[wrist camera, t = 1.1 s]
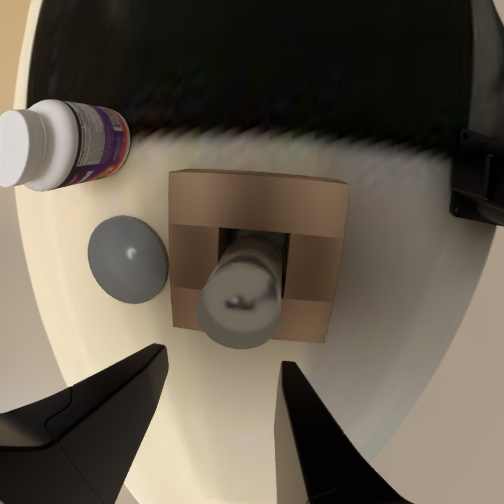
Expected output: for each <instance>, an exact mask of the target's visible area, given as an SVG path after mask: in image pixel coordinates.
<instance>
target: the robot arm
mask: <svg viewBox="0 0 504 504" xmlns="http://www.w3.org/2000/svg"><path fill="white" fill-rule="evenodd" d="M463 133H464V134H465V139H464V137H463ZM452 187H453V192H452V199H451V206H450V212H451V214H452V215H453V216H455V217H459V218H464V219H470V220H475V221H480V222H485V223H490V224H494V225H499V226H504V143H502V142H499V141H497V140H494V139H492V138H489V137H487V136H484V135H481V134H478V133H476V132H473V131H470V130H467V129H460V130H459V131H458V138H457V153H456V155H455V166H454V176H453V185H452ZM457 207H458V211H457V212H455V209H456V208H457ZM168 369H169V364H168V356H167V348H166V346H165V345H161V344H156V343H153V344H151V345H149V346H147V347H145V348H144V349H142V350H140V351H138V352H136V353H134V354H132V355H130V356H129V357H127V358H125V359H123V360H121V361H119V362H117V363H115V364H113V365H111V366H109V367H108V368H106V369H104V370H102V371H100V372H98V373H96V374H94V375H92V376H90V377H88V378H86V379H84V380H82V381H80V382H78V383H76V384H74V385H73V386H70V387H68V388H66V389H64V390H62V391H60V392H58V393H56V394H54V395H51V396H49V397H47V398H44V399H42V400H40V401H37V402H34V403H32V404H29V405H26V406H23V407H20V408H17V409H14V410H11V411H9V412H5V413H1V414H0V504H115V501H116V499H117V497H118V494H119V492H120V490H121V487H122V485H123V483H124V481H125V478H126V476H127V474H128V471H129V469H130V467H131V465H132V462H133V460H134V458H135V456H136V453H137V451H138V449H139V447H140V444H141V442H142V440H143V438H144V435H145V433H146V431H147V429H148V427H149V424H150V422H151V420H152V418H153V415H154V413H155V411H156V408H157V405H158V402H159V399H160V396H161V392H162V389H163V386H164V383H165V380H166V376H167V373H168ZM274 439H275V461H276V484H277V504H414V503H411V502H410V501H408V500H406V499H404V498H403V497H402V496H400V495H399V494H398V493H397V492H396V491H395V490H394V489H393V488H392V487H391V486H390V485H389V484H388V483H387V482H386V481H385V480H384V479H383V478H382V477H381V476H380V475H379V474H378V473H377V472H376V471H375V470H374V469H373V468H372V467H371V466H370V465H369V463H368V462H367V461H366V460H365V459H364V458H363V457H362V456H361V455H360V453H359V452H358V451H357V449H356V448H355V447H354V446H353V444H352V443H351V442H350V440H349V439H348V437H347V436H346V434H344V432H343V430H342V429H341V428H340V426H339V425H338V423H337V422H336V420H335V419H334V418H333V416H332V415H331V413H330V412H329V410H328V409H327V408H326V406H325V405H324V403H323V402H322V400H321V399H320V398H319V396H318V395H317V393H316V392H315V390H314V389H313V387H312V386H311V384H310V383H309V382H308V380H307V379H306V377H305V376H304V374H303V373H302V371H301V370H300V368H299V367H298V365H297V364H296V363H295V362H292V361H282V362H281V367H280V373H279V380H278V388H277V400H276V411H275V422H274Z"/></svg>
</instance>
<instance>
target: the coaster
mask: <svg viewBox="0 0 504 504" xmlns="http://www.w3.org/2000/svg"><path fill="white" fill-rule="evenodd" d="M88 260H89V265H90V268H91V271H92V273H93V275H94V277H95V279H96V281H97V282H98V284H99V285H100V286H101V287H102V289H103V290H104V291H105V292H107V293H108V294H109V295H110V296H112V297H113V298H115V299H117V300H119V301H122V302H125V303H131V304H138V303H143V302H146V301H148V300H150V299H151V298H153V297H154V296H155V295H156V294H157V293H158V292H159V291H160V289H161V288H162V286H163V285H164V283H165V281H166V277H167V272H168V260H167V255H166V251H165V248H164V246H163V244H162V242H161V240H160V238H159V237H158V235H157V234H156V233H155V232H154V231H153V230H152V229H151V228H150V227H149V226H148V225H147V224H146V223H144V222H142V221H141V220H139V219H136V218H134V217H130V216H116V217H113V218H110V219H108V220H105V221H104V222H102V223H101V224H100V225H98V226H97V228H96V229H95V230H94V232H93V233H92V235H91V237H90V241H89V245H88Z"/></svg>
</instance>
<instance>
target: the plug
mask: <svg viewBox="0 0 504 504" xmlns="http://www.w3.org/2000/svg"><path fill="white" fill-rule="evenodd" d="M281 283H282V258H281V254H280V252H279V250H278V248H277V247H276V245H275V244H274V243H273V242H272V241H270V240H269V239H267V238H265V237H263V236H260V235H255V234H249V235H244V236H241V237H238V238H237V239H235V240H234V241H232V242H231V243H230V245H229V246H228V247H227V249H226V251H225V252H224V254H223V256H222V257H221V259H220V261H219V262H218V264H217V266H216V267H215V269H214V271H213V272H212V274H211V276H210V277H209V279H208V281H207V283H206V284H205V286H204V288H203V289H202V291H201V293H200V295H199V296H198V299H197V303H196V315H197V319H198V322H199V324H200V326H201V328H202V329H203V331H204V332H205V333H206V334H207V335H208V336H209V337H210V338H211V339H212V340H214V341H215V342H217V343H219V344H221V345H223V346H226V347H229V348H234V349H249V348H254V347H257V346H259V345H262V344H263V343H265V342H267V341H268V340H269V339H270V338H271V337H272V336H273V335H274V334H275V332H276V330H277V329H278V326H279V323H280V312H281Z"/></svg>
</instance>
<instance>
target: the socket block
mask: <svg viewBox="0 0 504 504" xmlns="http://www.w3.org/2000/svg"><path fill="white" fill-rule="evenodd" d="M349 193H350V184H347V183H345V182H343V181H341V180H338V179H329V178H320V177H311V176H301V175H290V174H278V173H265V172H250V171H233V170H210V169H184V170H178V171H172V172H169V261H170V284H171V301H172V316H173V327H178V328H185V329H192V330H198V331H203V329H202V328H201V326H200V324H199V322H198V319H197V315H196V303H197V299H198V296H199V295H200V293H201V291H202V289H203V288H204V286H205V284H206V283H207V281H208V279H209V277H210V276H211V274H212V272H213V271H214V269H215V267H216V266H217V264H218V262H219V261H220V259H221V257H222V256H223V254H224V252H225V251H226V249H227V247H228V241H229V228H234V229H247V230H259V231H271V232H282V233H288V241H287V252H286V262H285V271H284V276H282V283H281V312H280V323H279V326H278V329H277V330H276V332H275V334H274V335H273V336H272V337H271V338H270V339H277V340H289V341H302V342H317V343H325V339H326V334H327V329H328V325H329V320H330V315H331V310H332V305H333V300H334V294H335V289H336V283H337V278H338V272H339V266H340V260H341V253H342V247H343V240H344V233H345V226H346V218H347V210H348V202H349Z"/></svg>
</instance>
